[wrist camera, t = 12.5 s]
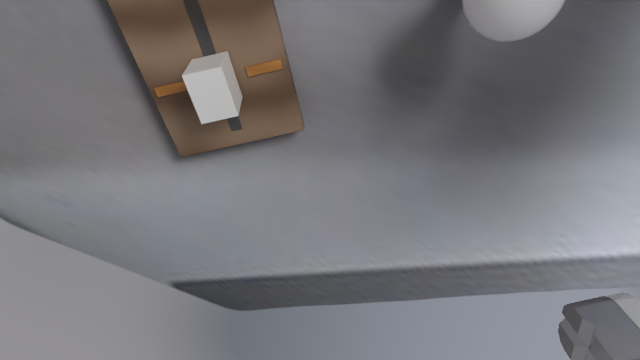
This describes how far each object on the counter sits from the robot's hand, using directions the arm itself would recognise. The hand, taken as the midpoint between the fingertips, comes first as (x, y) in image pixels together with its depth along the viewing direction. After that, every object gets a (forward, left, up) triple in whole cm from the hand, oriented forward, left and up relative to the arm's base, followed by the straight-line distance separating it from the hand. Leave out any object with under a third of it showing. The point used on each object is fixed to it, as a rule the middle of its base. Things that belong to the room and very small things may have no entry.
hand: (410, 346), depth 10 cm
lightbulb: (-13, -3, -29) cm, 32 cm away
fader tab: (+9, 0, -27) cm, 28 cm away
